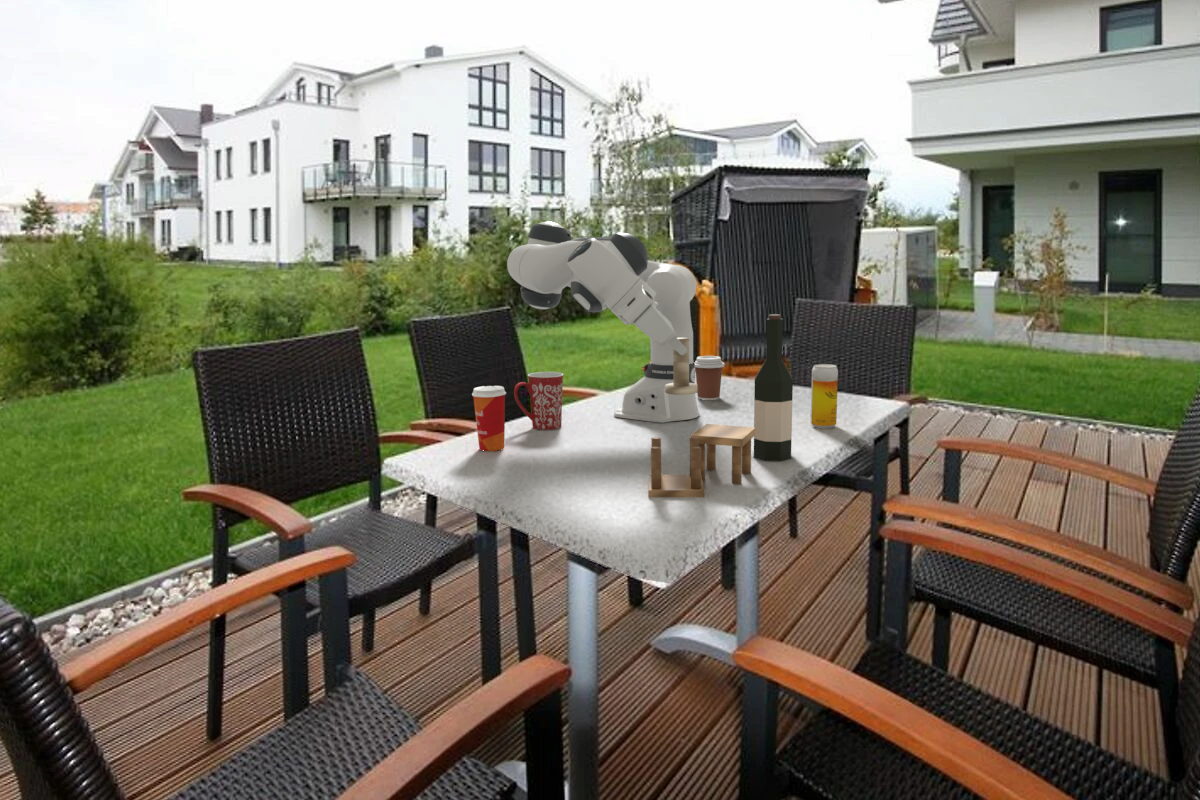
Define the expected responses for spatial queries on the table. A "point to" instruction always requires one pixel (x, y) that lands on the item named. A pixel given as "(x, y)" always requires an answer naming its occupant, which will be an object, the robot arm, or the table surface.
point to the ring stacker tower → (681, 373)
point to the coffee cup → (708, 376)
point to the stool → (728, 437)
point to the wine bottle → (773, 400)
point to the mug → (543, 399)
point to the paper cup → (490, 416)
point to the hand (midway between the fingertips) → (684, 351)
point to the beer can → (824, 395)
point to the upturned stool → (676, 483)
